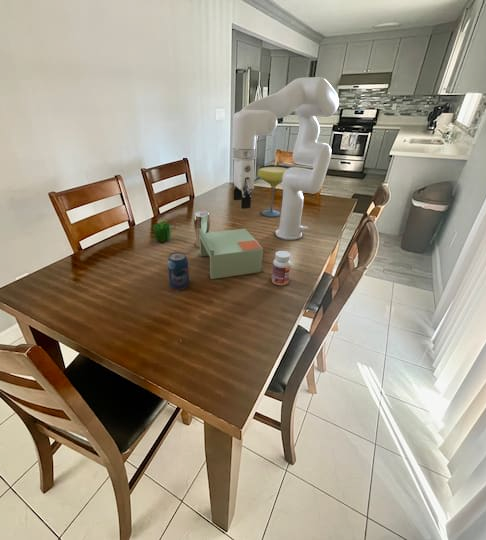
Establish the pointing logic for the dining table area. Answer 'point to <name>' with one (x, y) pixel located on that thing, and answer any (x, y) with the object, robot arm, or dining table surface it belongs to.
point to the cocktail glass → (272, 182)
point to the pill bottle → (281, 268)
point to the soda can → (178, 270)
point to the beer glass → (201, 224)
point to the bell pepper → (162, 231)
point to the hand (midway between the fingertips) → (241, 203)
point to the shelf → (231, 252)
